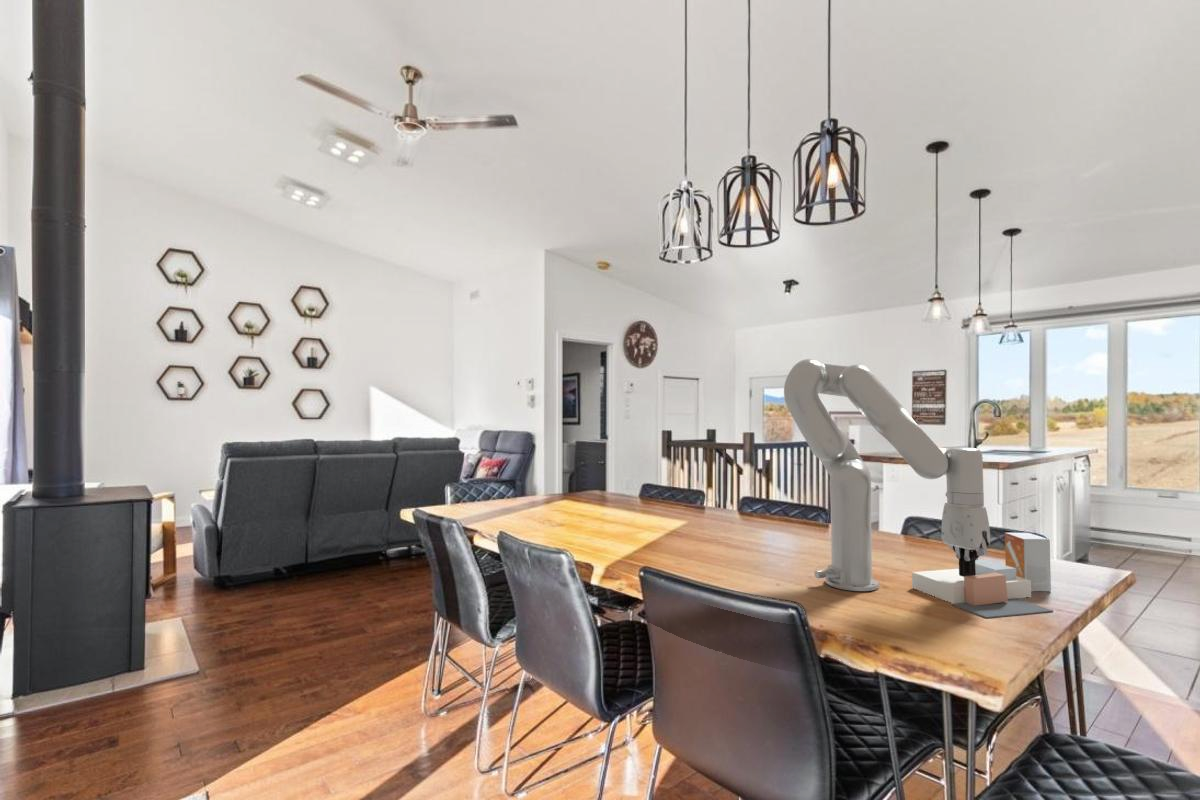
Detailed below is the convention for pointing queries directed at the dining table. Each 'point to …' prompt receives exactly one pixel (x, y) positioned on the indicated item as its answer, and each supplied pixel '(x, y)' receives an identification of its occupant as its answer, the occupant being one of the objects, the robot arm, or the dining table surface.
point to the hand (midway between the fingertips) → (967, 576)
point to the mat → (1003, 608)
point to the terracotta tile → (985, 589)
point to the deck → (960, 585)
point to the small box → (1029, 558)
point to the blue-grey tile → (994, 568)
